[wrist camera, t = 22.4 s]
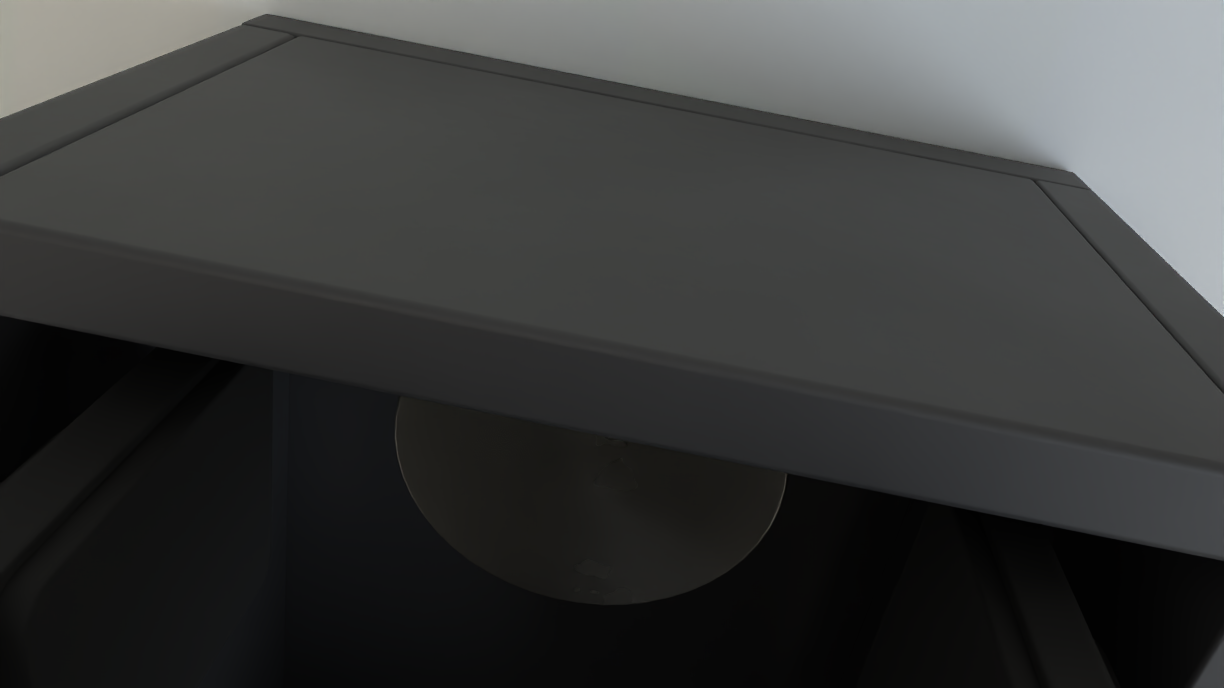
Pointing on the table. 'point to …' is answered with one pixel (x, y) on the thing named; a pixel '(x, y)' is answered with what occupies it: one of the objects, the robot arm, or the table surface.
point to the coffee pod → (580, 505)
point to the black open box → (614, 350)
